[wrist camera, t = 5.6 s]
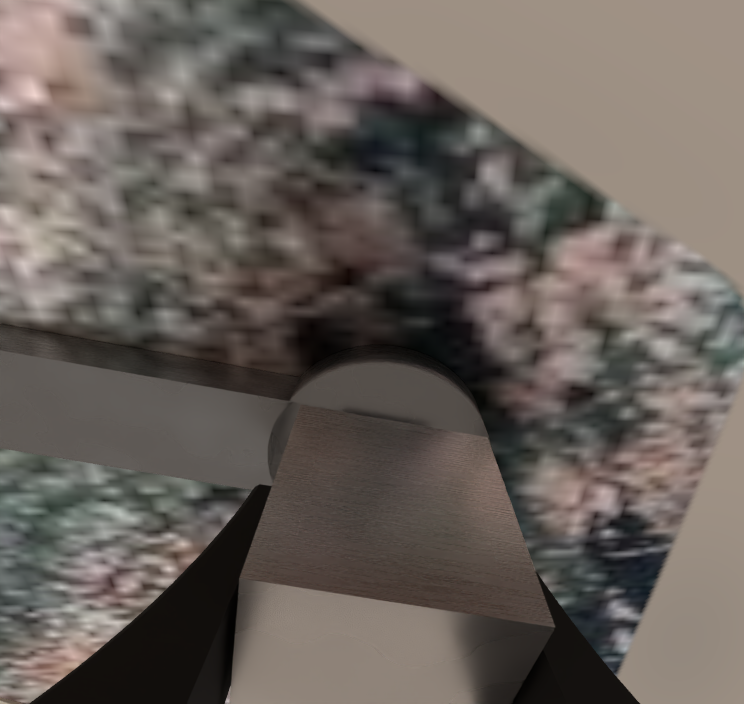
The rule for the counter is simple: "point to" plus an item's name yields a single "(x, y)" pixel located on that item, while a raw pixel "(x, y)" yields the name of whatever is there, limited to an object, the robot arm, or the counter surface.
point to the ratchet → (203, 404)
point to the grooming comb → (8, 701)
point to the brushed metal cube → (386, 572)
